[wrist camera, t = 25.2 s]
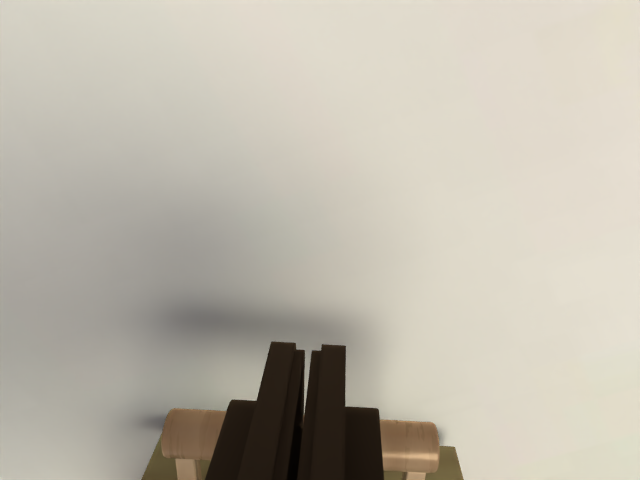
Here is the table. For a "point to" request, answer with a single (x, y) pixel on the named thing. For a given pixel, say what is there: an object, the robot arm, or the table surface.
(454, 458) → the drawer
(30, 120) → the table surface
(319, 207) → the table surface
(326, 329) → the table surface
